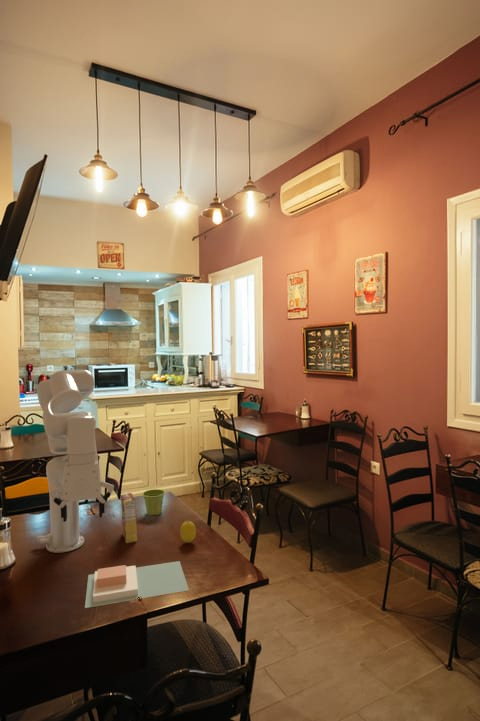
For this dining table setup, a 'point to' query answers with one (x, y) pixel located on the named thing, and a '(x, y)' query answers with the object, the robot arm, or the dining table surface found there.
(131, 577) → the block
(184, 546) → the dining table surface
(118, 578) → the terracotta tile
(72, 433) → the robot arm
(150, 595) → the rubber mat
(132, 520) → the candy box
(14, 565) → the dining table surface
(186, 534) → the lemon
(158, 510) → the plant pot
